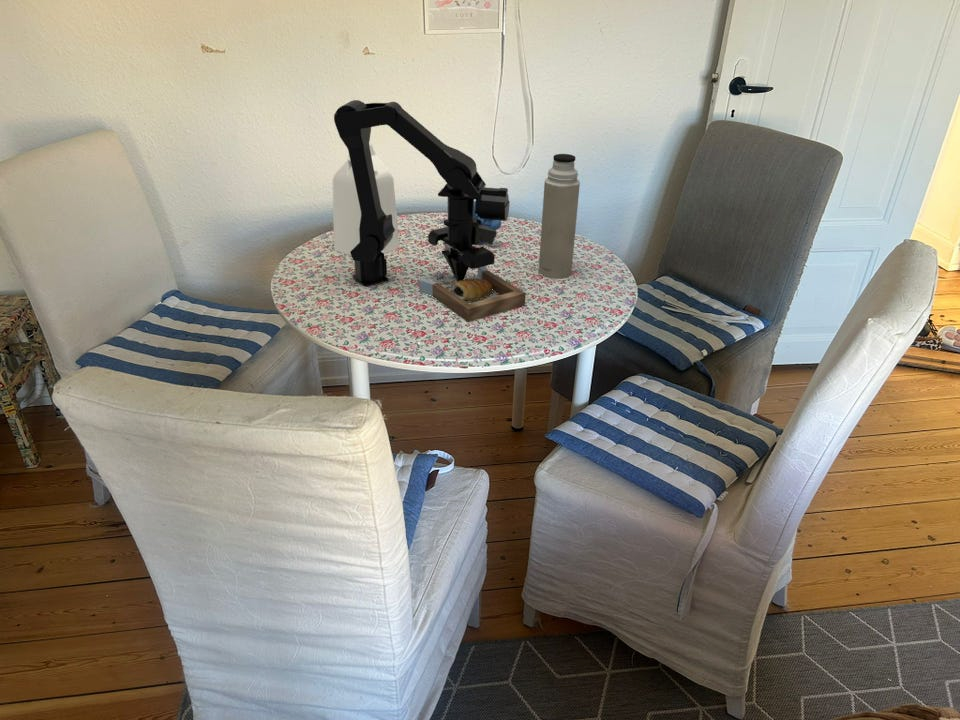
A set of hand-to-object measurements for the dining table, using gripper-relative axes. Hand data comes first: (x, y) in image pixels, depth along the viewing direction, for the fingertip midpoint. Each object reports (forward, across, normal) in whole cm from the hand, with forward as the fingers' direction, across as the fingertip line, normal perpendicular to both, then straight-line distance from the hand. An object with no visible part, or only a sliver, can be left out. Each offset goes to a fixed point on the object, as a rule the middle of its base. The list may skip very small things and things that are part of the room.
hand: (460, 282), depth 164 cm
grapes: (+2, +21, -21) cm, 30 cm away
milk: (+2, +33, +7) cm, 34 cm away
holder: (+2, -6, 0) cm, 6 cm away
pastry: (+2, -4, 0) cm, 4 cm away
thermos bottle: (+2, -4, -25) cm, 25 cm away
